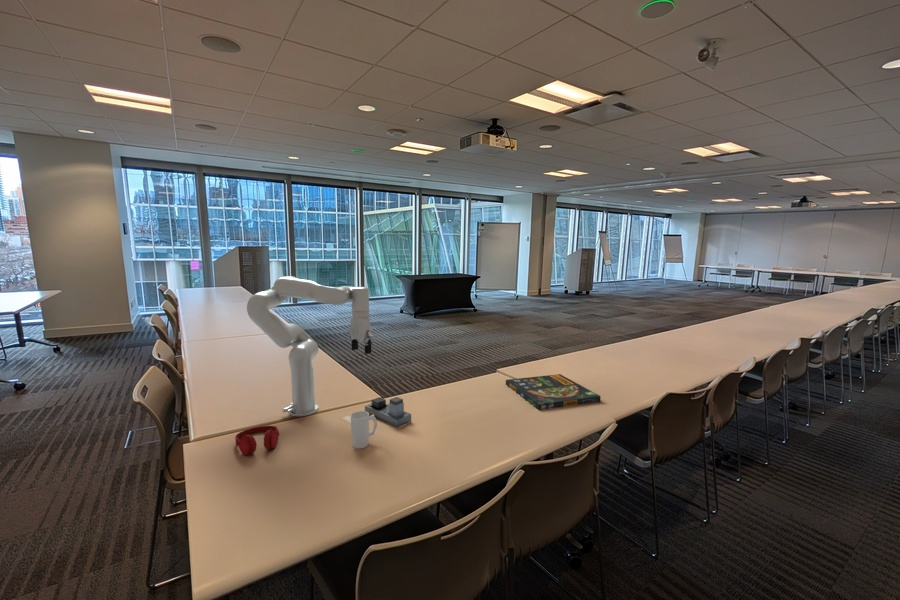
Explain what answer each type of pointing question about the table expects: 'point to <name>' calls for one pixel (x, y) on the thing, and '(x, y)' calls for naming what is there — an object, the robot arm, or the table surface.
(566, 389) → the pizza box
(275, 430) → the headphones
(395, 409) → the plug
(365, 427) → the mug
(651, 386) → the table surface
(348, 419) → the coaster
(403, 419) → the pdu strip
